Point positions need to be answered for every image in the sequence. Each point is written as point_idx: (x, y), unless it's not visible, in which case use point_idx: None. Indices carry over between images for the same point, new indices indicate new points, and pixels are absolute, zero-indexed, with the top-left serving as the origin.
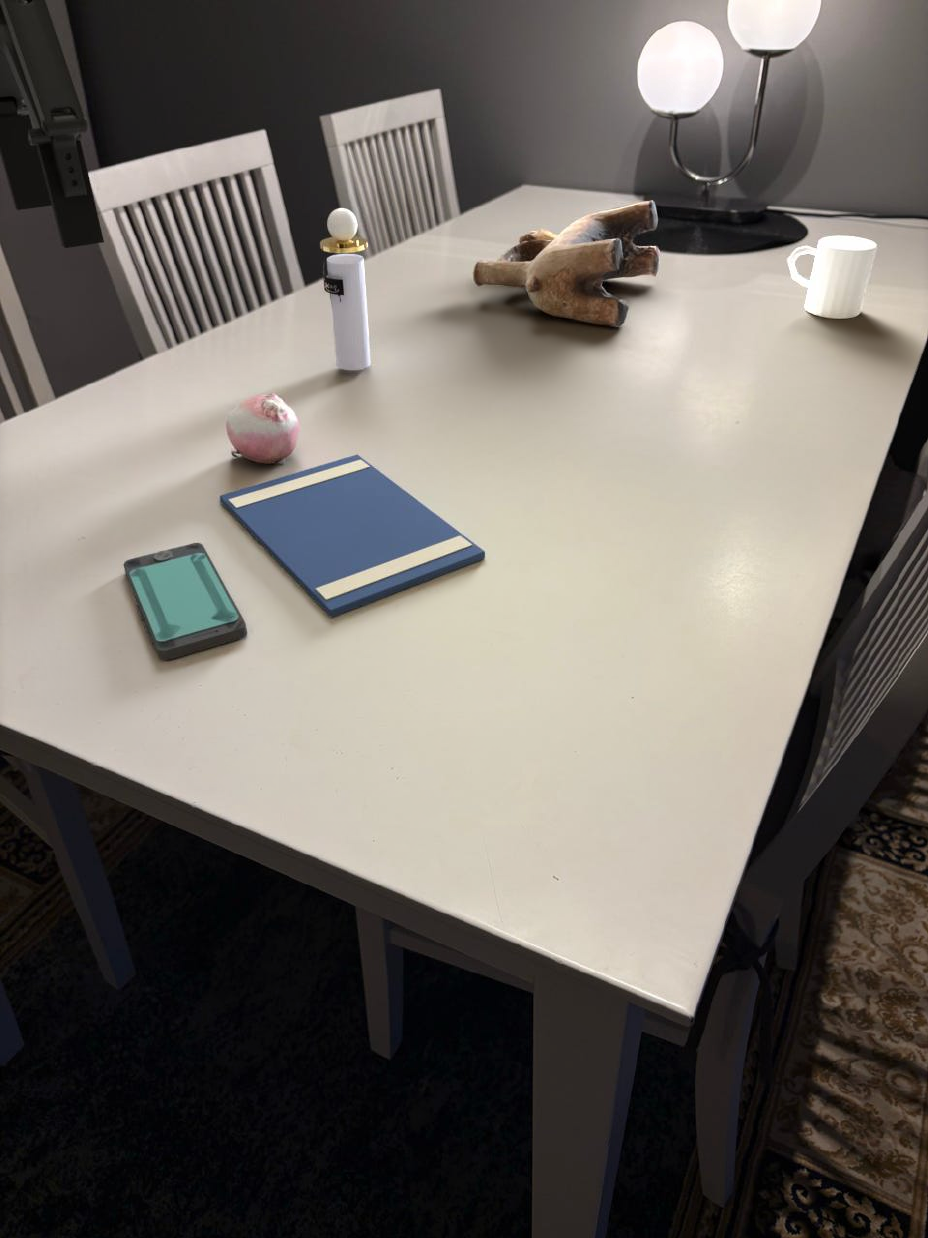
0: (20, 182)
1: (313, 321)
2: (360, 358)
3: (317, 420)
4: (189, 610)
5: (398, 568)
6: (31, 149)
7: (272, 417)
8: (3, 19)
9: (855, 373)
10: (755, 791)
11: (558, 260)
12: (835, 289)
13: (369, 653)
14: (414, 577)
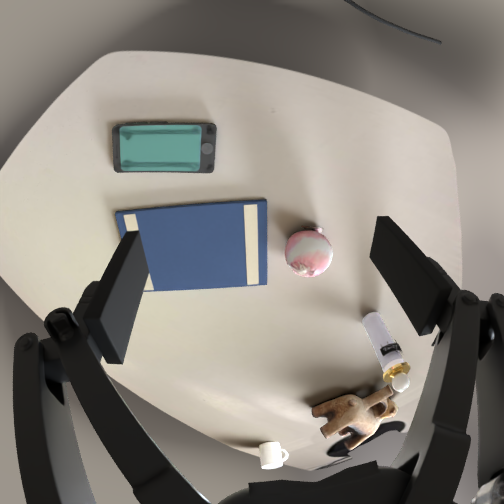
0: (389, 246)
1: None
2: (364, 325)
3: (329, 281)
4: (140, 148)
5: None
6: (400, 294)
7: (292, 263)
8: None
9: (218, 431)
10: (10, 285)
11: (345, 418)
12: (265, 452)
13: (86, 216)
14: None
